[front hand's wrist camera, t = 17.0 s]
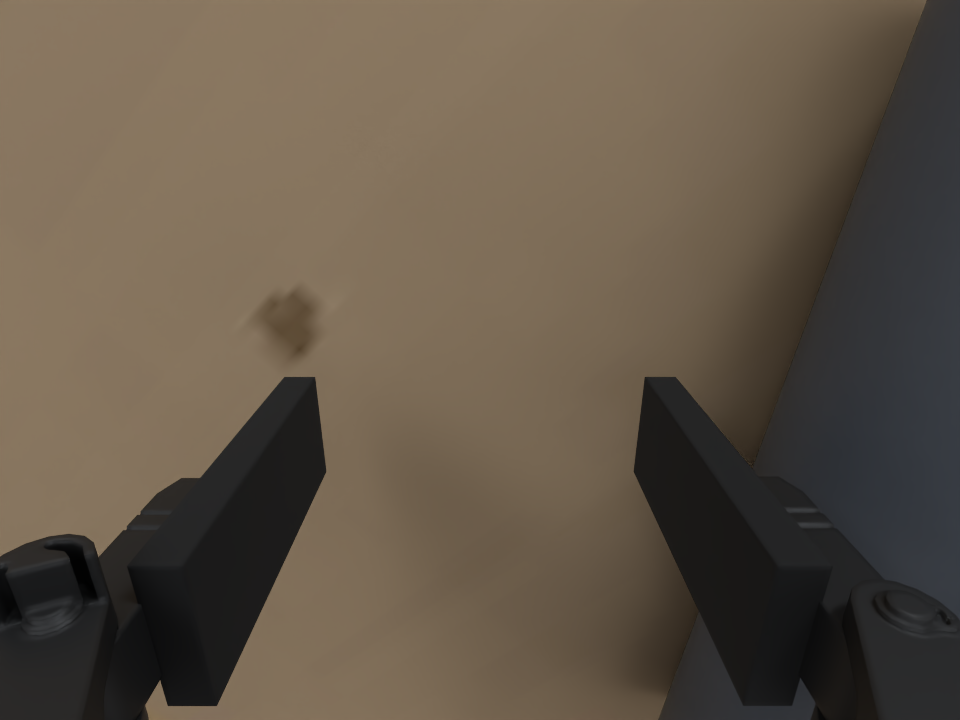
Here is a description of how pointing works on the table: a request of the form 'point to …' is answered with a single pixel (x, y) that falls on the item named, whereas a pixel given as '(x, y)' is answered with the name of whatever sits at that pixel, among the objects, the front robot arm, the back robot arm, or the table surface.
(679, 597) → the table surface
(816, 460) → the rod
